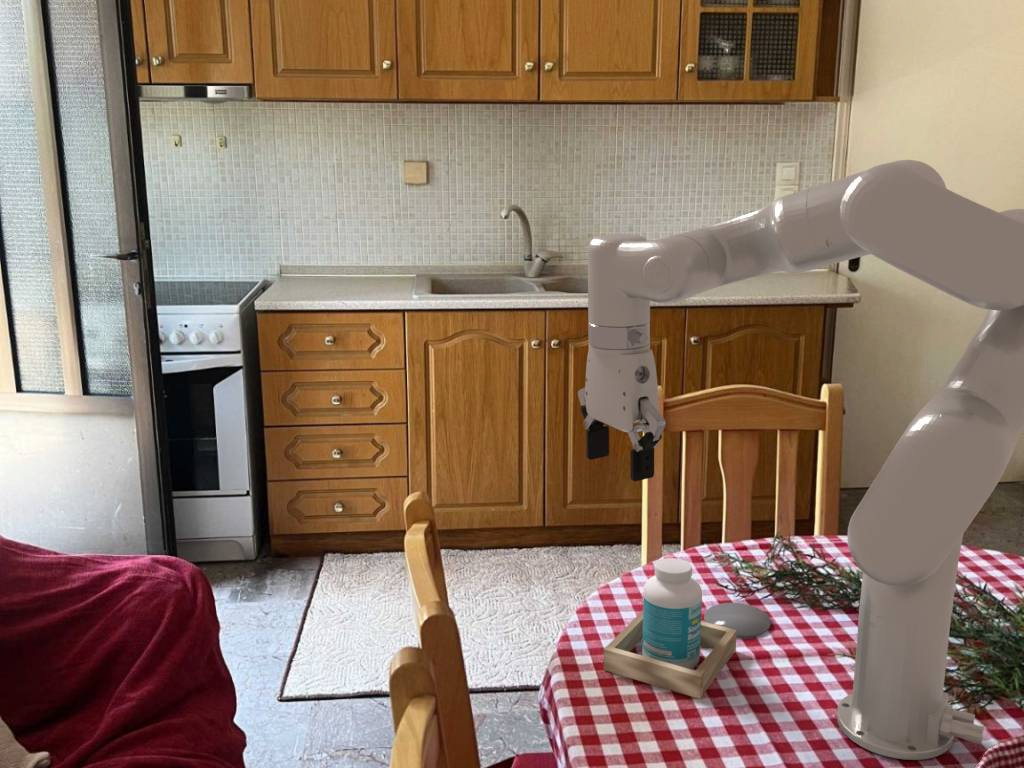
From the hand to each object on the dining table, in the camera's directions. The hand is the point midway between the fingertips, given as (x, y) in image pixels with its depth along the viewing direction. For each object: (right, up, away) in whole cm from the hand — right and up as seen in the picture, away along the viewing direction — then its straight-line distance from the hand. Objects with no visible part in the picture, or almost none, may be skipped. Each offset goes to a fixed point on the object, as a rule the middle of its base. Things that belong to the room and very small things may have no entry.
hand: (619, 467), depth 127 cm
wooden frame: (+7, -25, +3) cm, 27 cm away
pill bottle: (+7, -26, +3) cm, 27 cm away
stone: (+18, -23, +13) cm, 31 cm away
